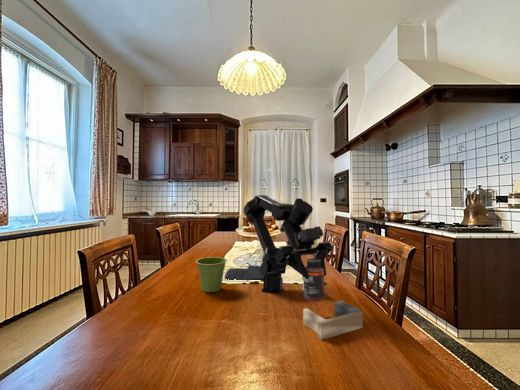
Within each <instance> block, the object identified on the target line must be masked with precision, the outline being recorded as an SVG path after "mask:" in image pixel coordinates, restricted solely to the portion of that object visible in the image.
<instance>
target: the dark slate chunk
mask: <svg viewBox="0 0 520 390" xmlns="http://www.w3.org/2000/svg"><path fill="white" fill-rule="evenodd" d="M260 266H261V265H253V264H252V265H251V264H250V265H248V266H247V268H245V267H244V268H242V267H239V268H238V267H237V268H232V267H231V268H229V269H228V270H226V272H225V274H224V278H225V279H227V280H228V279H229V280H234V279H236V280H261V281H260V282H263V275H262V274H260V271H259V267H260ZM225 279H224V280H225Z"/></svg>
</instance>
